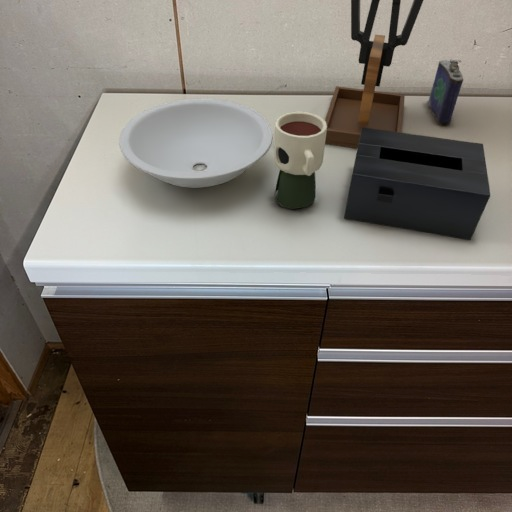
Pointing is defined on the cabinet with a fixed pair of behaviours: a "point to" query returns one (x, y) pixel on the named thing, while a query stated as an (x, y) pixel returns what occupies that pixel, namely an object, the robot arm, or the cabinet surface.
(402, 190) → the toaster
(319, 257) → the cabinet surface
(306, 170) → the character mug
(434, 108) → the flask
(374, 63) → the toast
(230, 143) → the white bowl
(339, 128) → the tray
